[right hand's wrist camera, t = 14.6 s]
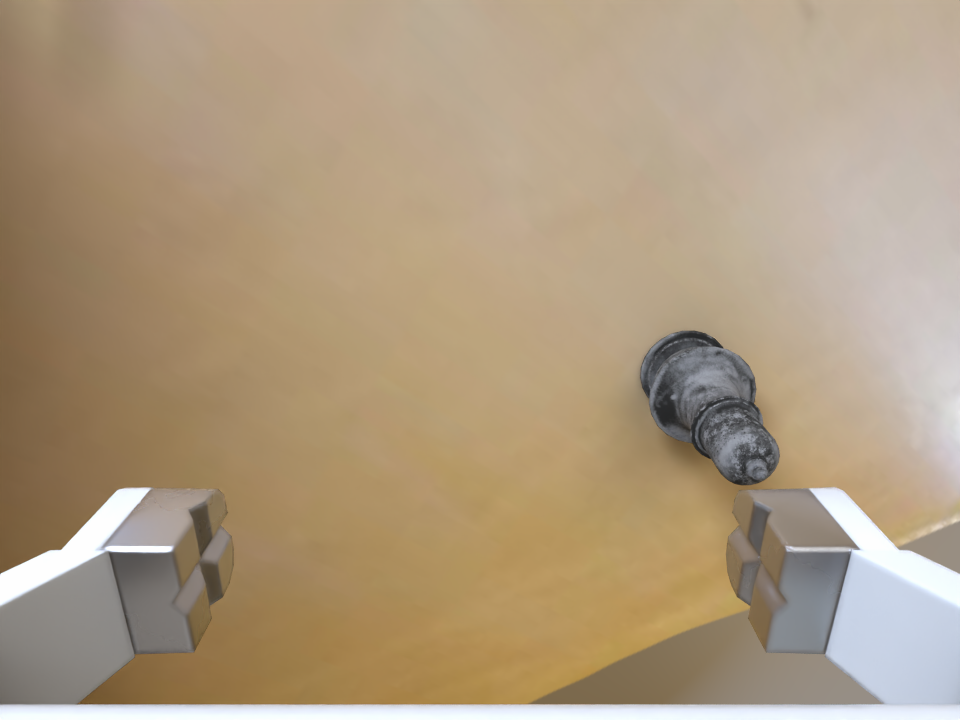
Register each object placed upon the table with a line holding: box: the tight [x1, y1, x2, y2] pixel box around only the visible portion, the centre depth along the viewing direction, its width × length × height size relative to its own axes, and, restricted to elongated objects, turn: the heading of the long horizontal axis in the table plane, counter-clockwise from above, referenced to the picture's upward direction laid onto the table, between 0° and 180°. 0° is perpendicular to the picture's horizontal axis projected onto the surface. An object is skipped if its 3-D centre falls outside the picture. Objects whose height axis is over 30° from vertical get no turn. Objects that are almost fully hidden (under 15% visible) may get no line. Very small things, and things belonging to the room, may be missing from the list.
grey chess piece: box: [640, 331, 780, 485], centre depth 34 cm, size 6×6×12 cm
